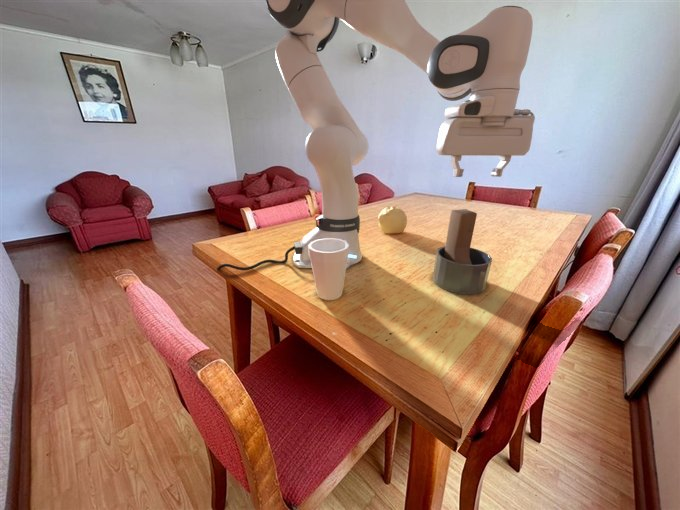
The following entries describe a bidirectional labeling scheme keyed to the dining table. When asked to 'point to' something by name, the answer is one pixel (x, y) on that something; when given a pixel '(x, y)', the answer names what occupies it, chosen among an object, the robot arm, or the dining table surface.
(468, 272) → the grey short cylinder
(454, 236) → the wooden block
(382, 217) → the sculpture
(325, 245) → the foam cup
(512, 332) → the dining table surface
